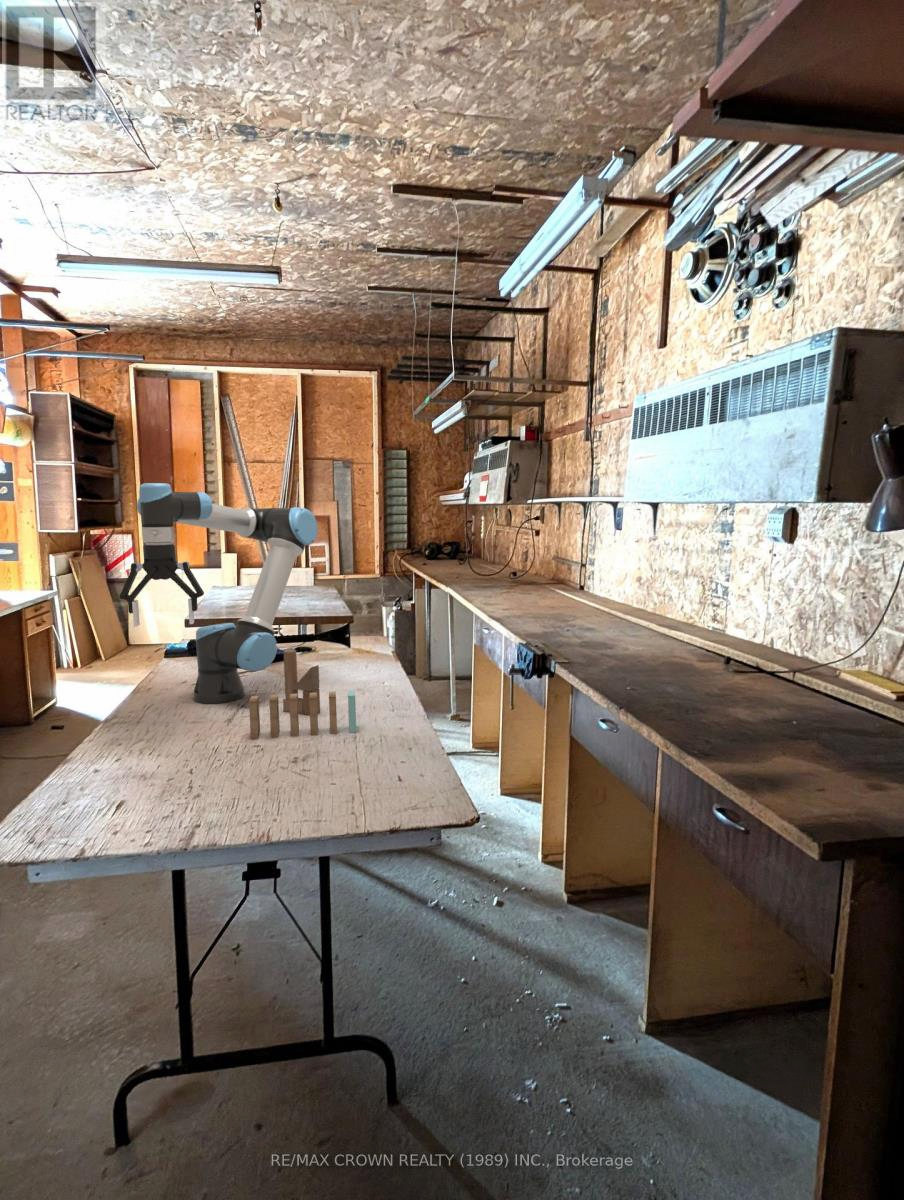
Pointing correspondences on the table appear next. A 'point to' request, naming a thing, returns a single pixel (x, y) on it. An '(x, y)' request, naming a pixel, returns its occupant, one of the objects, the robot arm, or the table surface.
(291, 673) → the wooden block
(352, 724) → the domino
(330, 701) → the domino
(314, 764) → the table surface
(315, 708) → the domino
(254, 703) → the domino
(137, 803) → the table surface
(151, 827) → the table surface
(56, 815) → the table surface
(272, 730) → the domino
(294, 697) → the domino
